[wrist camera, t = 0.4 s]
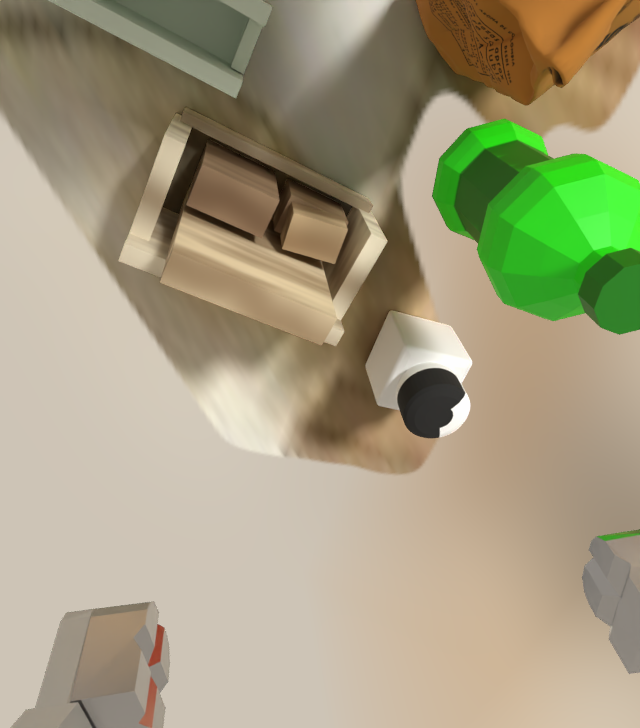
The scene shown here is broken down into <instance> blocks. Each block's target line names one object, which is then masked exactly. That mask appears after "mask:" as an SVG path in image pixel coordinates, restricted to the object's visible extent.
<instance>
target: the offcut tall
mask: <svg viewBox="0 0 640 728" xmlns="http://www.w3.org/2000/svg"><path fill="white" fill-rule="evenodd" d="M279 201H280V200H279V194H278V187H277V181H276V175H275V171H273V170H271V169H269V168H267V167H265V166H263V165H261V164H259V163H257V162H255V161H253V160H251V159H248V158H246V157H244V156H242V155H240V154H238V153H236V152H234V151H232V150H230V149H228V148H226V147H224V146H222V145H220V144H218V143H216V142H214V141H212V140H210V139H208V141H207V144H206V146H205V149H204V151H203V154H202V156H201V159H200V161H199V164H198V166H197V169H196V171H195V174H194V177H193V181H192V185H191V189H190V193H189V197H188V200H187V204H186V205H187V206H190V207H192V208H194V209H197V210H199V211H201V212H203V213H206V214H208V215H210V216H212V217H215V218H217V219H219V220H221V221H224V222H226V223H228V224H230V225H233V226H235V227H237V228H240V229H242V230H244V231H246V232H249V233H251V234H253V235H255V236H258V237H260V238H262V237H263V235H264V232H265V230H266V228H267V226H268V224H269V222H270V220H271V218H272V216H273V214H274V212H275V209H276V207H277V205H278V203H279Z"/></svg>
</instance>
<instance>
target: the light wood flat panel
mask: <svg viewBox="0 0 640 728" xmlns="http://www.w3.org/2000/svg"><path fill="white" fill-rule="evenodd" d="M191 185H192V184H190V187H189V189H188V192H187V194H186V197H185V199H184V202H183V204H182V207H181V210H180V213H179V217H178V220H177V224H176V227H175V231H174V234H173V238H172V241H171V245H170V248H169V252H168V255H167V258H166V262H165V265H164V269H163V272H162V276H161V279H160V283H162V284H164V285H167V286H170V287H172V288H175V289H177V290H180V291H182V292H185V293H187V294H190V295H193V296H195V297H198V298H200V299H203V300H205V301H208V302H211V303H213V304H216V305H218V306H221V307H223V308H226V309H228V310H231V311H234V312H236V313H239V314H241V315H244V316H246V317H249V318H252V319H254V320H257V321H259V322H262V323H264V324H267V325H269V326H272V327H275V328H277V329H280V330H282V331H285V332H287V333H290V334H293V335H295V336H298V337H300V338H303V339H305V340H308V341H311V342H313V343H316V344H318V345H321V346H322V344H323V343H324V341H325V339H326V338H327V336H328V334H329V332H330V331H331V329H332V327H333V326H334V324H335V322H336V321H337V316H336V312H335V309H334V305H333V301H332V298H331V294H330V290H329V287H328V283H327V279H326V276H325V272H324V268H323V265H322V261H321V260H319V259H315V258H312V257H308V256H305V255H301V254H298V253H294V252H291V251H287V250H284V249H282V245H281V237H280V235H281V233H278V232H276V231H274V224H273V221H272V220H270V222H269V224H268V226H267V228H266V230H265V232H264V235H263V237H262V238H260V237H258V236H255V235H253V234H251V233H249V232H246V231H244V230H242V229H240V228H237V227H235V226H233V225H230V224H228V223H226V222H224V221H221V220H219V219H217V218H215V217H212V216H210V215H208V214H206V213H203V212H201V211H199V210H197V209H194V208H192V207H190V206H187V205H186V204H187V200H188V197H189V193H190V189H191Z"/></svg>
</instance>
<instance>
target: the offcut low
mask: <svg viewBox="0 0 640 728" xmlns="http://www.w3.org/2000/svg"><path fill="white" fill-rule="evenodd" d="M279 200H280V201H279V203H278V205H277V207H276V209H275V212H274V214H273V224H274V231H276V232H278V233H281V232H282V229H283V226H284V223H285V220H286V217H287V214H288V211H289V208H290V204H291V201H292V202H295V203H299V204H302V205H305V206H308V207H311V208H315V209H318V210H321V211H324V212H327V213H331V214H334V215H337V216H340V217H343V219H344V221H345V223H346V226H347V225H348V220H347V218H346V216H345V213H344V211H343V208H342V206H341V204H340V203H339V202H337V201H334V200H332V199H330V198H328V197H326V196H324V195H322V194H320V193H318V192H316V191H314V190H312V189H310V188H308V187H306V186H304V185H302V184H300V183H298V182H296V181H294V180H291V179H289V178H287V180H286V182H285V184H284V186H283V188H282V191H281V193H280V195H279Z"/></svg>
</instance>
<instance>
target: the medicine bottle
mask: <svg viewBox="0 0 640 728" xmlns="http://www.w3.org/2000/svg"><path fill="white" fill-rule="evenodd" d="M471 365H472V360H471V358H470V357H469V355H468V353H467V352H466V350H465V348H464V347H463V345H462V343H461V342H460V340H459V339H458V337H457V336H456V333H455V332H454V330H453V329H452V327H451V326H450V325H446V324H442V323H438V322H435V321H431V320H427V319H423V318H420V317H416V316H412V315H408V314H404V313H401V312H397V311H393V310H391V311H389V313H388V315H387V317H386V320H385V322H384V324H383V326H382V329H381V331H380V333H379V335H378V338H377V340H376V342H375V344H374V347H373V349H372V351H371V353H370V356H369V358H368V360H367V362H366V365H365V367H366V370H367V374H368V377H369V380H370V383H371V386H372V390H373V393H374V396H375V399H376V402H377V404H378V405H379V406H382V407H386V408H391V409H396V410H400V412H401V415H402V418H403V420H404V423H405V425H406V427H407V428H408V430H409V431H410V432H412V433H413V434H415V435H417V436H420V437H424V438H439V437H443V436H446V435H448V434H451V433H452V432H454V431H455V430H457V429H458V428H459V427H460V426H461V425H462V424H463V423H464V421H465V420H466V418H467V417H468V414H469V411H470V400H469V398H468V396H467V394H466V392H465V390H464V388H463V386H462V384H461V383H462V381H463V380H464V378H465V376H466V374H467V373H468V371H469V369H470V367H471Z"/></svg>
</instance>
